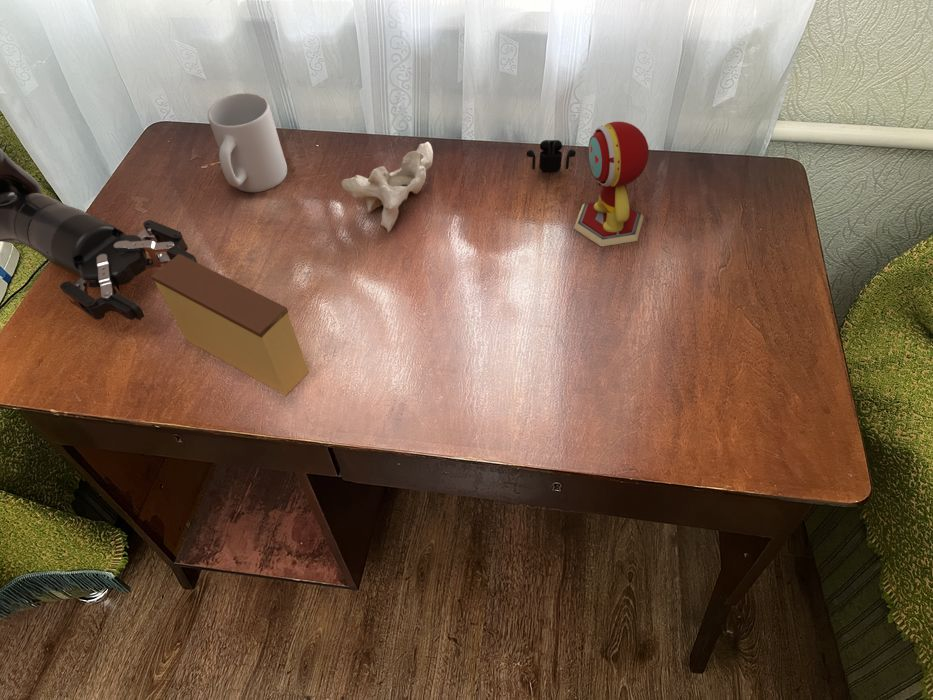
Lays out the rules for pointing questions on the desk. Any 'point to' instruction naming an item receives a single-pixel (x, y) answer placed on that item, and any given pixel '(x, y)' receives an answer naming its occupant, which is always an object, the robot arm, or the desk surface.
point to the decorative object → (392, 184)
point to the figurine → (614, 184)
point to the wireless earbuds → (550, 156)
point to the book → (233, 323)
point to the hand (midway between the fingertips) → (168, 289)
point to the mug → (247, 142)
